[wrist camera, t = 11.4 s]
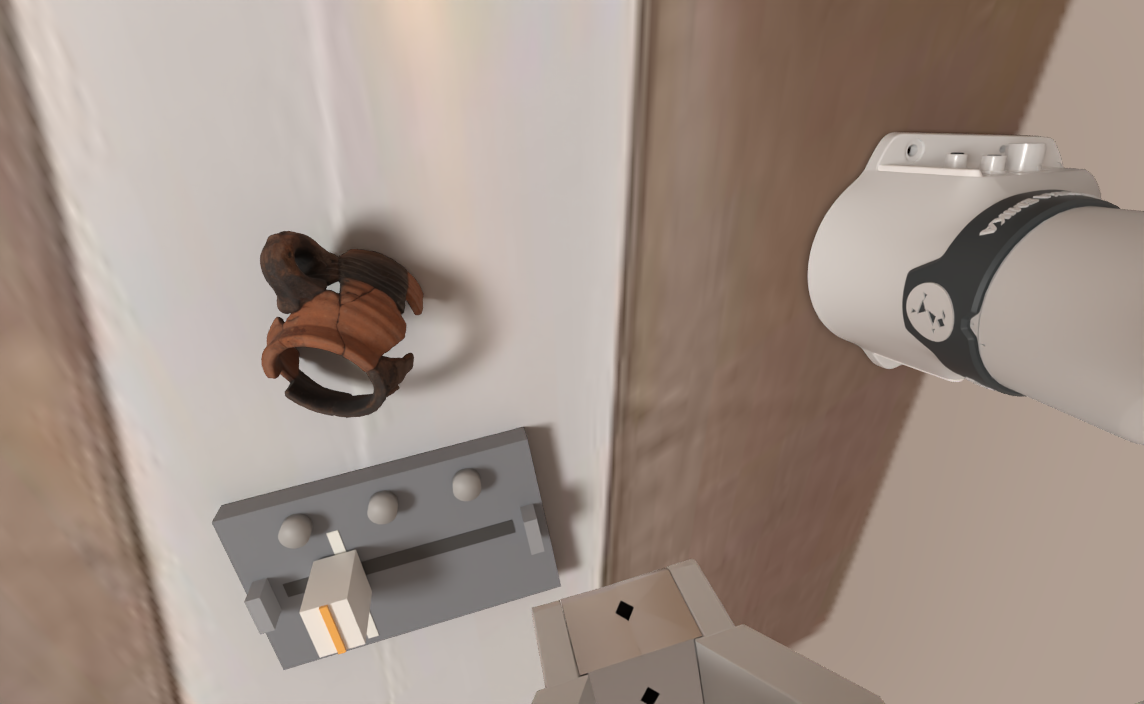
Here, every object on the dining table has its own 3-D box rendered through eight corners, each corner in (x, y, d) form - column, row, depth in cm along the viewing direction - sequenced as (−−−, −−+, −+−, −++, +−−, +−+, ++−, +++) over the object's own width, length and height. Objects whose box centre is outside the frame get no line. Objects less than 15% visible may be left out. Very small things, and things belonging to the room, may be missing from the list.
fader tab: (355, 549, 43) (346, 601, 38) (372, 591, 45) (365, 646, 40) (313, 561, 43) (298, 615, 38) (331, 603, 44) (319, 660, 39)
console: (523, 427, 45) (531, 452, 42) (556, 569, 51) (566, 603, 47) (221, 505, 42) (201, 540, 39) (289, 649, 47) (277, 692, 44)
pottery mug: (460, 318, 42) (431, 410, 36) (356, 351, 45) (315, 440, 40) (348, 175, 35) (289, 261, 29) (233, 227, 38) (160, 313, 32)
